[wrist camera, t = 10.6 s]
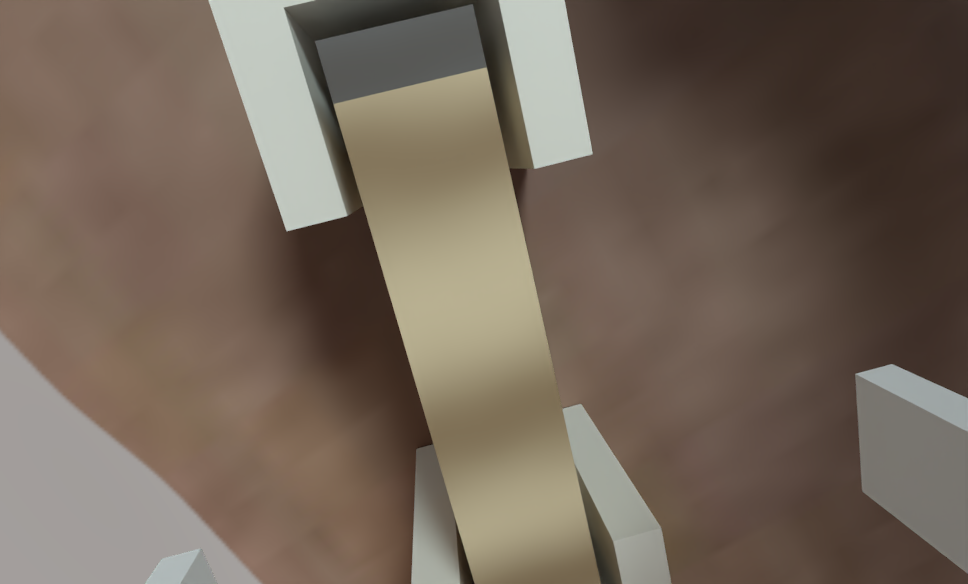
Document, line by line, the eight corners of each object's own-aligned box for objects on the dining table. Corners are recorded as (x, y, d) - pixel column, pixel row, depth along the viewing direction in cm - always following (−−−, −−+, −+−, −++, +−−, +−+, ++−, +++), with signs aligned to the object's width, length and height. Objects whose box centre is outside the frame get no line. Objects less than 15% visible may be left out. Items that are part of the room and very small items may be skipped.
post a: (292, 46, 23) (194, -41, 13) (494, -2, 23) (542, -121, 14) (341, 205, 25) (286, 231, 15) (528, 158, 25) (592, 154, 15)
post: (604, 514, 30) (688, 679, 20) (449, 557, 30) (461, 748, 20) (581, 403, 28) (661, 527, 19) (416, 448, 28) (410, 599, 18)
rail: (349, 79, 19) (314, 41, 13) (458, 53, 19) (472, 4, 13) (491, 580, 24) (511, 710, 18) (575, 556, 24) (621, 677, 19)
